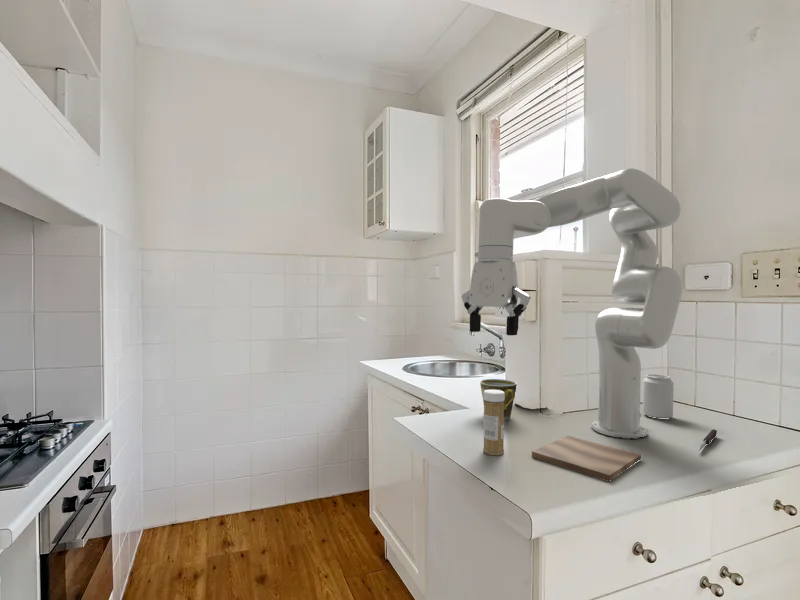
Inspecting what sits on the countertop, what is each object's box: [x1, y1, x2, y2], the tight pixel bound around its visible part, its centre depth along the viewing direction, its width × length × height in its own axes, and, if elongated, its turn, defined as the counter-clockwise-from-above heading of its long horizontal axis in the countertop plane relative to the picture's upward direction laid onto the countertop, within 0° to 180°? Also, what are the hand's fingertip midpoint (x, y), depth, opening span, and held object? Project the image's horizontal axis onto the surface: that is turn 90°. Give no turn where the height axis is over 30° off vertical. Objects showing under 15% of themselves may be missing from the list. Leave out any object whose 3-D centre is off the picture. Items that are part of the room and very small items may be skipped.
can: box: [642, 373, 674, 419], centre depth 123 cm, size 8×8×12 cm
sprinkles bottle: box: [482, 389, 505, 456], centre depth 93 cm, size 5×5×14 cm
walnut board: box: [531, 435, 642, 482], centre depth 90 cm, size 16×16×1 cm
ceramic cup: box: [480, 378, 517, 422], centre depth 119 cm, size 13×10×10 cm
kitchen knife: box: [697, 429, 718, 453], centre depth 99 cm, size 18×1×2 cm, turn 135°
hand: (492, 333), depth 94 cm, fingers open, 9 cm apart
